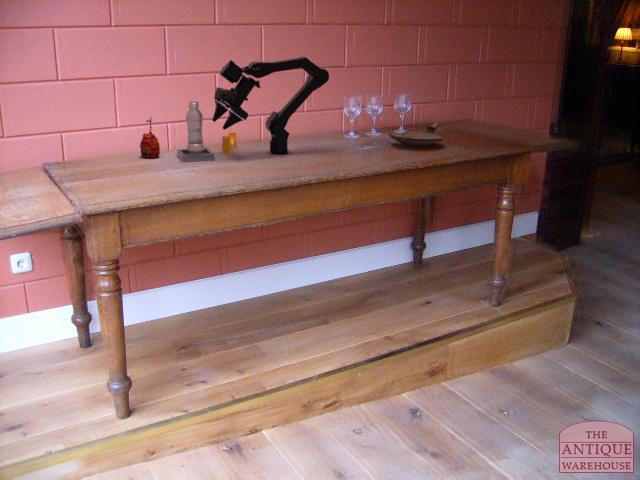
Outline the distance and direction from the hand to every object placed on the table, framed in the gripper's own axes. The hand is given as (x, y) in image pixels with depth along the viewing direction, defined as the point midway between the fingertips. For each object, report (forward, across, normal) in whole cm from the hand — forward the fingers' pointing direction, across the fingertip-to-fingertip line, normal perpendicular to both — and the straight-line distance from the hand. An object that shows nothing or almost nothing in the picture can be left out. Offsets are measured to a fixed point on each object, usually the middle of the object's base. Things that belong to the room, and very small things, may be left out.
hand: (218, 125), depth 250 cm
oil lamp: (-42, +23, +72) cm, 87 cm away
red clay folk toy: (+25, -9, -11) cm, 29 cm away
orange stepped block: (+7, -7, +14) cm, 17 cm away
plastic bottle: (+14, +1, -1) cm, 14 cm away
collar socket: (+15, +1, -1) cm, 15 cm away
